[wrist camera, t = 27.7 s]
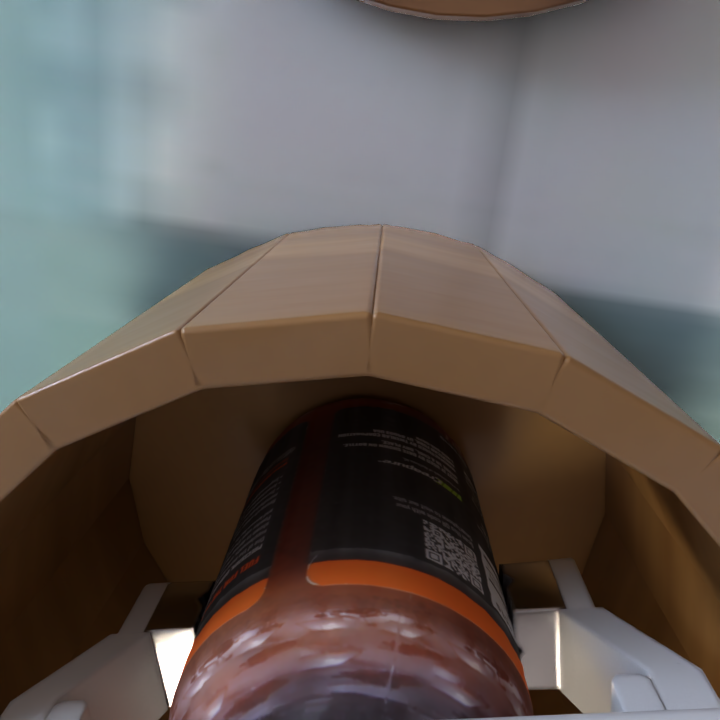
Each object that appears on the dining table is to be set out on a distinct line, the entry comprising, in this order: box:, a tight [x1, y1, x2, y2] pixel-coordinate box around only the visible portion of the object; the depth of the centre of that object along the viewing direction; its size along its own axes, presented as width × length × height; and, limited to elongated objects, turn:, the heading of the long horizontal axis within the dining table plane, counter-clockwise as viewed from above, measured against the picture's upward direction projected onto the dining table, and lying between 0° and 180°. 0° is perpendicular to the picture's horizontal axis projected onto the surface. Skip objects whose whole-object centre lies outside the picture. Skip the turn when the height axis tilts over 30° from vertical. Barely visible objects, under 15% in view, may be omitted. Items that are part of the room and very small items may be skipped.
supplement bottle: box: [169, 398, 534, 720], centre depth 13 cm, size 6×6×11 cm
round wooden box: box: [0, 224, 720, 720], centre depth 14 cm, size 15×15×10 cm
